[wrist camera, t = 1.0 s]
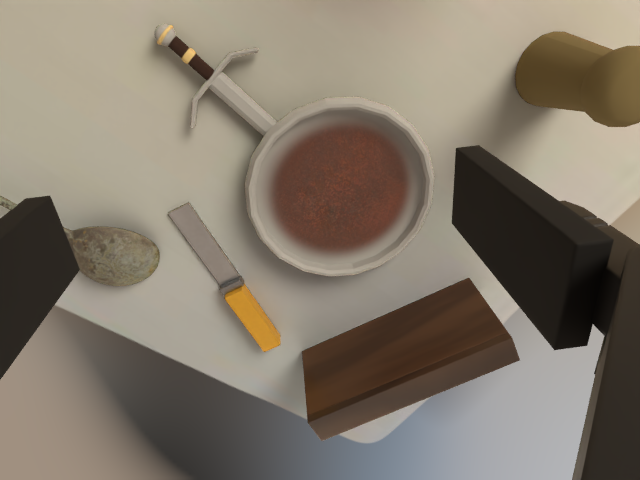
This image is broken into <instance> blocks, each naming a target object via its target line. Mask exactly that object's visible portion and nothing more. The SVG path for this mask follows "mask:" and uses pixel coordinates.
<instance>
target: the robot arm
mask: <svg viewBox="0 0 640 480" xmlns="http://www.w3.org/2000/svg"><path fill="white" fill-rule="evenodd" d="M452 224H453V225H454V226H455V228H456V229H457V230H458V231H459V233H460V234H461V235H462V236H463V238H464V239H465V240H466V241H467V243H468V244H469V245H470V246H471V247H472V249H473V250H474V251H475V252H476V254H477V255H478V256H479V257H480V259H481V260H482V261H483V262H484V264H485V265H486V266H487V267H488V268H489V270H490V271H491V272H492V273H493V275H494V276H495V277H496V278H497V280H498V281H499V282H500V283H501V285H502V286H503V287H504V288H505V290H506V291H507V292H508V293H509V294H510V296H511V297H512V298H513V299H514V301H515V302H516V303H517V304H518V306H519V307H520V308H521V309H522V310H523V312H524V313H525V314H526V315H527V317H528V318H529V319H530V320H531V322H532V323H533V324H534V325H535V327H536V328H537V329H538V330H539V331H540V333H541V334H542V335H543V336H544V338H545V339H546V340H547V341H548V343H549V344H550V345H551V346H552V348H553V349H554V350H558V349H565V348H573V347H580V346H587V344H588V340H589V336H590V332H591V328H592V324H594V325H595V326H596V327H597V328H598V330H599V331H600V332H601V333H603V334H604V336H605V337H604V340H603V344H602V347H601V351H600V355H599V359H598V362H597V366H596V369H595V373H594V374H595V378H594V383H593V387H592V392H591V397H590V401H589V406H588V410H587V415H586V419H585V424H584V428H583V433H582V438H581V442H580V447H579V451H578V455H577V460H576V464H575V469H574V473H573V478H572V480H640V245H639V244H638V243H636V242H634V241H633V240H632V239H630V238H629V237H627V236H626V235H624V234H623V233H621V232H620V231H618V230H617V229H615V228H614V227H612V226H611V225H609V226H608V225H607V223H606V222H604V221H603V220H601V219H600V218H597V216H595V215H594V214H592V213H591V212H589V211H588V210H586V209H585V208H583V207H581V206H578V205H575V204H572V203H569V202H567V201H558V200H556V199H555V198H554V197H552V196H551V195H549V194H548V193H546V192H545V191H544V190H542V189H541V188H539V187H538V186H536V185H535V184H533V183H532V182H531V181H529V180H528V179H526V178H525V177H523V176H522V175H521V174H519V173H518V172H516V171H515V170H513V169H512V168H510V167H509V166H508V165H506V164H505V163H503V162H502V161H500V160H499V159H498V158H496V157H495V156H493V155H492V154H490V153H489V152H488V151H486V150H485V149H483V148H482V147H480V146H479V145H478V146H470V147H461V148H456V157H455V175H454V193H453V211H452ZM79 270H80V268H79V266H78V263H77V261H76V258H75V256H74V253H73V251H72V248H71V246H70V243H69V241H68V239H67V236H66V234H65V231H64V229H63V226H62V224H61V221H60V219H59V216H58V214H57V212H56V209H55V207H54V204H53V202H52V199H51V197H50V196H44V197H35V198H27V199H24V200H23V201H22V202H21V203H19V204H18V205H17V206H16V207H14V208H13V209H12V210H11V211H9V212H8V213H7V214H6V215H4V216H3V217H2V218H1V219H0V379H1V378H2V377H3V375H4V374H5V372H6V371H7V370H8V368H9V367H10V366H11V364H12V363H13V361H14V360H15V359H16V357H17V356H18V354H19V353H20V352H21V350H22V349H23V347H24V346H25V345H26V343H27V342H28V341H29V339H30V338H31V336H32V335H33V334H34V332H35V331H36V330H37V328H38V327H39V325H40V324H41V323H42V321H43V320H44V318H45V317H46V316H47V314H48V313H49V311H50V310H51V309H52V307H53V306H54V305H55V303H56V302H57V300H58V299H59V298H60V296H61V295H62V294H63V292H64V291H65V289H66V288H67V287H68V285H69V284H70V282H71V281H72V280H73V278H74V277H75V276H76V274H77V273H78V271H79Z"/></svg>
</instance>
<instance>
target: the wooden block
mask: <svg viewBox="0 0 640 480" xmlns="http://www.w3.org/2000/svg"><path fill="white" fill-rule="evenodd" d="M302 356H303V368H304V381H305V393H306V406H307V419H308V424H309V425H310V426H311V428H312V429H313V430H314V432H315V433H316V434H317V436H318V437H319V438H320V440H321V441H323V440H326V439H328V438H330V437H333V436H335V435H338V434H340V433H343V432H345V431H348V430H350V429H352V428H355V427H357V426H360V425H362V424H365V423H367V422H370V421H372V420H375V419H377V418H379V417H382V416H384V415H387V414H389V413H392V412H394V411H397V410H399V409H402V408H404V407H406V406H409V405H411V404H414V403H416V402H419V401H421V400H424V399H426V398H428V397H431V396H433V395H436V394H438V393H440V392H443V391H446V390H448V389H450V388H453V387H455V386H458V385H460V384H463V383H465V382H468V381H470V380H473V379H475V378H477V377H480V376H482V375H485V374H487V373H490V372H492V371H495V370H497V369H499V368H502V367H504V366H507V365H509V364H511V363H514V362H516V361H519V360H520V359H519V356H518V353H517V350H516V348H515V345H514V342H513V339H512V338H511V336H510V334H509V333H508V332H507V330H506V329H505V327H504V326H503V325H502V323H501V322H500V320H499V319H498V318H497V316H496V315H495V313H494V312H493V311H492V309H491V308H490V306H489V305H488V304H487V302H486V301H485V299H484V298H483V297H482V295H481V294H480V292H479V291H478V290H477V288H476V287H475V285H474V284H473V283H472V281H471V280H470V278H468V279H465V280H463V281H461V282H458V283H456V284H454V285H452V286H449V287H447V288H445V289H443V290H440V291H438V292H436V293H433V294H431V295H429V296H427V297H424V298H422V299H420V300H418V301H415V302H413V303H411V304H408V305H406V306H404V307H402V308H399V309H397V310H395V311H393V312H390V313H388V314H386V315H384V316H381V317H379V318H377V319H374V320H372V321H370V322H368V323H365V324H363V325H361V326H359V327H356V328H354V329H352V330H349V331H347V332H345V333H343V334H340V335H338V336H336V337H334V338H331V339H329V340H327V341H324V342H322V343H320V344H318V345H315V346H313V347H311V348H309V349H306V350H304V351H302Z"/></svg>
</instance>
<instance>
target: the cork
mask: <svg viewBox="0 0 640 480" xmlns="http://www.w3.org/2000/svg"><path fill="white" fill-rule="evenodd" d="M515 80H516V88H517V90H518V92H519V94H520V96H521V97H522V98H523V99H524V100H525V101H526V102H527V103H530V104H532V105H535V106H541V107H549V108H558V109H566V110H575V111H583V112H586V113H587V114H588V115H589V116H590V117H591V118H592V119H593V120H594V121H595V122H598V123H600V124H603V125H606V126H608V127H627V126H630V125H633V124H636V123H639V122H640V46H625V47H622V48H618V49H615V50H612V49H609V48H607V47H604V46H601V45H598V44H596V43H593V42H590V41H588V40H585V39H582V38H580V37H577V36H574V35H571V34H569V33H566V32H551V33H548V34H545V35H542V36H541V37H539V38H538V39H536V40H535V41H534V42H532V43H531V44H530V45H529V47H528V48H527V49H526V50H525V51H524V52H523V54H522V56H521V58H520V60H519V62H518V65H517V69H516V74H515Z"/></svg>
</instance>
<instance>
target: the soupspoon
mask: <svg viewBox="0 0 640 480" xmlns="http://www.w3.org/2000/svg"><path fill="white" fill-rule="evenodd" d="M0 205H2V206H3V207H5V208H7V209H9V210H12V209H13V208H14V207H16V206H17V204H15V203H13V202H11V201H10V200H8V199H6V198H4V197H2V196H0ZM63 229H64V231H65V234H66V236H67V239H68V241H69V243H70V246H71V248H72V251H73V253H74V256H75V258H76V261H77V263H78V266H79V268H80V271H81V272H82V273H83V274H84V275H86V276H87V277H89V278H90V279H92V280H95V281H97V282H99V283H102V284H106V285H112V286H125V285H131V284H135V283H138V282H140V281H142V280H144V279H146V278H147V277H148V276H150V275H151V274H152V273H153V272H154V270H155V269H156V268H157V266H158V262H159V258H160V254H159V250H158V248H157V246H156V245H155V244H154V243H153V242H152V241H150V240H149V239H148V238H146V237H144V236H142V235H140V234H137V233H135V232H132V231H128V230H125V229H120V228H113V227H87V228H81V229H77V230H74V231H71V230H69V229H66V228H64V227H63Z"/></svg>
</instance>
